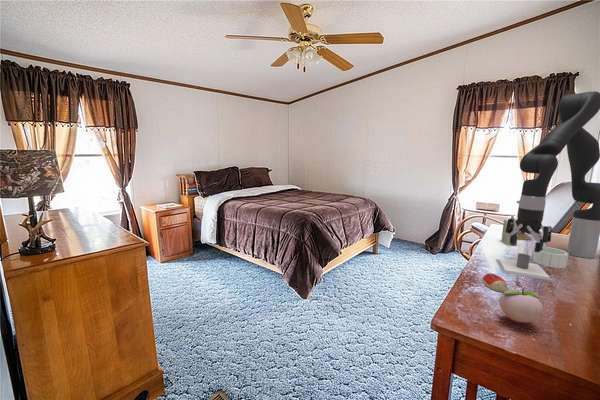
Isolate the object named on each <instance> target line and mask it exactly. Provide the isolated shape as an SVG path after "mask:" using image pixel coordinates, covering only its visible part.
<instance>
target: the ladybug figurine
mask: <svg viewBox="0 0 600 400" xmlns="http://www.w3.org/2000/svg"><path fill="white" fill-rule="evenodd" d="M481 281H482V283H483V285H484V286H486V287H487V288H489V289H491V290H493V291H496V292H499V293H504V292H505V291H507V290H509V286H508V284H507V282H506V281H505V280H504V278H502V277H500V276H499V275H497V274H496V273H491V272H490V273H486V274H485V275H483V277H482V278H481Z"/></svg>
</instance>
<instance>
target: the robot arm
mask: <svg viewBox="0 0 600 400" xmlns="http://www.w3.org/2000/svg"><path fill="white" fill-rule="evenodd" d="M599 111H600V92H599V91H597V90H596V91H595V90H594V91H585V92H578V93H571V94H567V95H564V96H562V97H561V98H560V100H559V102H558V115H559V119H560V122H561V124H558V125H556V126H555V127H554V128H553V129H551V130H550V131H548V133H546V134H545V136H544V137H543V138H542V139H541V141H540V142H539V144H538V145H536V146H535V147H533V148H532V149H531V150H529V151H528V152H526V154H525V155H524V156H523V157H522V158H521V159H520V162H519V168H520V170H521V171H522V172H523V173H526V174H538V176H537V177H536V178H534V179H526V180H524V181H523V182H522V189H521V193H520V194H521V195H520V197H519V200H518V201H519V204H518V209H517V213H516V214H517V215H516V218H517V219H516V218H513V217H512V218H507V220H508V222H507V227H506V233H509V234H510V235H511V237H510V243H511V245H510V246H515V245H516V242H517V243H518V239H517V236H516V235H517V234H519V233H520V232H522V233H525V234H527V235H531V237H532V238H534V240H535V241H536V242H535V246H534V251H535V252H540V251H542V248H543V247H544V244H545V243H551V241H552V231H553V227H552V226H551V225H547V226H546V225H543V224H542V223H543V220H544V215H545V208H546V199H547V198H546V196H547V191H548V186H549V183H550V181H551V180H552V178H553V176H554V174H555V172H556V171H557V169H558V166H559V161H558V158H557V156H559V155H560V153H561V152H562V151H563V150H564V148H565V147H566V151H567V158H568V162H569V169H570V174H571V175H570V176H571V196H572V198H573V200H574V202H578V203H583V204H584V203H585V204H591V205H592V206H591V207H588V208H585V209H584V208H583V209H577V210H574V212H573V214H572V219H571V227H570V231H569V238H568V242H567V247H566V252H567V253H568V254H569V255H571V256H576V257H578V258H585V259H595V258H596V254H597V251H598V246H599V241H600V183H599V182H589V181H588V182H587V181H586V176H587V174H588V173H589V172H590V170H592V168H593V167H595V166H596V164H597V163H598V162H599V160H600V143H599V141H598V140H597V139H596V138H595V137H594V136H593V135H592V134H591V133H590V132H589V131H587V130H586V129H585V128H584V126H586V124H588V123H589V122H590V121H591V119H593V118H594V117H595V116H596V115H597V114H598V112H599ZM514 224H516V225H517V226H518V227H516V228H515V229H514V230H513V228H514ZM541 231H542V232H541Z"/></svg>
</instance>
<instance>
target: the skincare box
mask: <svg viewBox="0 0 600 400" xmlns="http://www.w3.org/2000/svg"><path fill="white" fill-rule="evenodd" d="M507 222H508V218H507V219H503V224H502V233H501V241H500V242H501V243H502V244H505V245H507V246H512V245H511V243H510V237H511V235H510V234H509V233H506V227H507ZM516 227H518V226H517V225H516V224H514V228H513V230H514V229H515V228H516ZM516 236H517V238H518V234H517V235H516ZM517 244H518V241H517V242H516V245H514V246H515V247H516V246H518V245H517Z"/></svg>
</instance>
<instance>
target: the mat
mask: <svg viewBox="0 0 600 400" xmlns="http://www.w3.org/2000/svg"><path fill="white" fill-rule="evenodd" d="M494 260H495V261H496V263H497V265H498V267H499V269H500V271H501V272H502V273H504V274H509V275H515V276H521V277H528V278H533V279H538V280H546V281H552V282H554V279H553V278H552V277H551V276H550V275H549V274H548V273H547V272H546V271H545V270H544V272H545V273H546V274H547V275H548V276H549V277H550V278H549V279H545V278H539V277H533V276H527V275H520V274H514V273H508V272H505V271H504V269H503V267H502V265H501V264H500V262H499V258H498V259H497V258H495V259H494ZM539 266H540V267H541V268H542V269H543V267H542V265H539Z"/></svg>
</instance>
